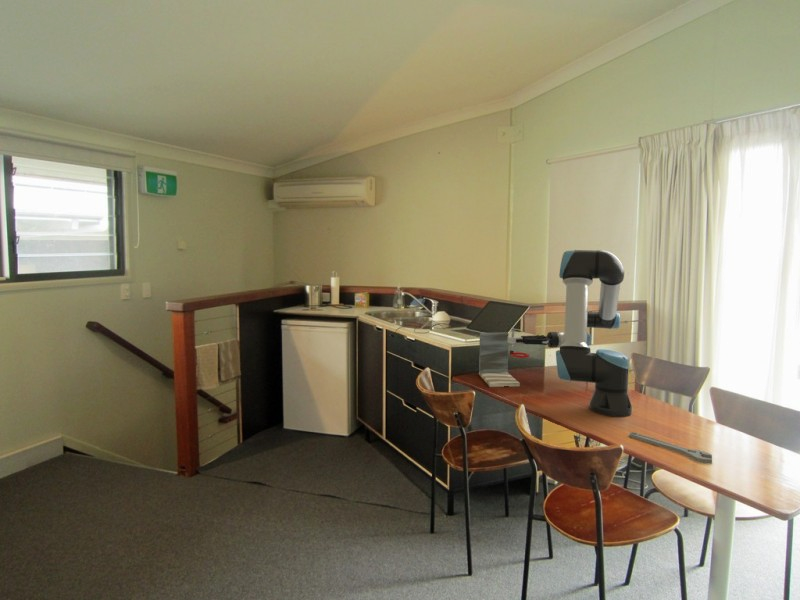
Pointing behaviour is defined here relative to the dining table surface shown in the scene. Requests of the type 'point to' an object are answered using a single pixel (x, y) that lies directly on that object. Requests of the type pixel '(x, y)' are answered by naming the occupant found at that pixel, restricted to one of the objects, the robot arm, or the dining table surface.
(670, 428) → the dining table surface
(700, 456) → the adjustable wrench
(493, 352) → the grey l-shaped piece
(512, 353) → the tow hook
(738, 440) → the dining table surface
